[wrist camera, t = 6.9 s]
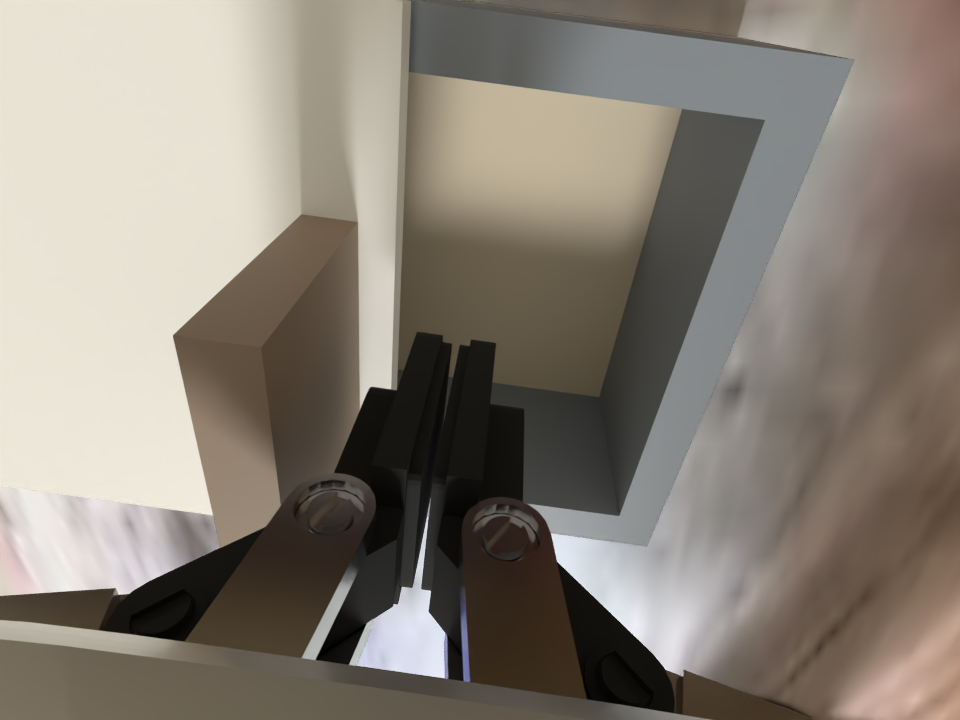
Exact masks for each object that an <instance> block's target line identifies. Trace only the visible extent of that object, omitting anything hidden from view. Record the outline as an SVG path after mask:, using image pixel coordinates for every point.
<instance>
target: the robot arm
mask: <svg viewBox="0 0 960 720" xmlns="http://www.w3.org/2000/svg"><path fill="white" fill-rule="evenodd" d="M451 350H452V343H446V342H443V335H438V334H431V333H424V332H417V333H416V336H415V339H414V342H413V345H412V348H411V350H410V353H409V356H408V359H407V362H406V365H405V368H404V371H403V374H402V377H401V380H400V383H399V386H398V389H397V390H392V389H385V388H378V387H370V388H369V390H368V392H367V394H366V396H365V399H364V401H363V404H362V406H361V408H360V411H359V413H358V416H357V418H356V421H355V423H354V425H353V428H352V430H351V433H350V435H349V437H348V440H347V442H346V445H345V447H344V449H343V452H342V454H341V457H340V459H339V461H338V464H337V466H336V469H335V471H334V473H331V474H322V475H318V476H315V477H312V478H309V479H307V480H306V481H304V482H302V483H301V484H299V485H297V486H296V487H295V489H294V490H293V491H292V492H291V493H290V494H289V495H288V496H287V498H286V499H285V500H284V502H283V503H282V505H281V506H280V508H279V509H278V510H277V512H276V513H275V515H274V516H273V517H272V519H271V520H270V522H269V523H268V524H267V526H266V527H264V528H262V529H260V530H258V531H255V532H253V533H251V534H249V535H247V536H245V537H243V538H241V539H238V540H236V541H234V542H232V543H230V544H228V545H226V546H224V547H221V548H219V549H217V550H215V551H213V552H211V553H209V554H206V555H204V556H202V557H200V558H198V559H196V560H194V561H192V562H189V563H187V564H185V565H183V566H181V567H179V568H177V569H174V570H172V571H170V572H168V573H166V574H164V575H162V576H160V577H157V578H155V579H153V580H151V581H149V582H147V583H146V584H144V585H142V586H141V587H139V588H137V589H136V590H134V591H132V592H131V593H130V594H125V595H118V593H117V591H116V588H111V589H97V590H82V591H67V592H53V593H38V594H23V595H9V596H0V720H814V719H812V718H810V717H808V716H806V715H803V714H800V713H798V712H796V711H793V710H791V709H788V708H786V707H783V706H779V705H776V704H774V703H771V702H768V701H766V700H763V699H760V698H758V697H755V696H752V695H750V694H747V693H744V692H742V691H739V690H736V689H734V688H731V687H728V686H726V685H723V684H720V683H718V682H715V681H712V680H710V679H707V678H704V677H702V676H699V675H696V674H694V673H691V672H688V671H686V670H683V671H682V673H681V675H677V674H675V673H672V672H669V671H667V670H665V669H664V667H663V666H662V665H661V663H660V662H659V661H658V660H657V659H656V657H655V656H654V655H653V654H652V653H651V652H650V651H649V650H648V649H647V648H646V647H645V646H644V645H643V644H642V643H641V642H640V641H639V640H638V639H637V638H636V637H635V636H634V635H632V634H631V633H630V632H629V631H628V630H627V629H626V628H625V627H624V626H623V625H622V624H621V623H620V622H619V621H618V620H617V619H616V618H615V617H614V616H613V615H612V614H611V613H610V612H609V611H608V610H607V609H605V608H604V607H603V606H602V605H601V604H600V603H599V602H598V601H597V600H596V599H595V598H594V597H593V596H592V595H591V594H590V593H589V592H588V591H587V590H586V589H585V588H584V587H583V586H582V585H581V584H579V583H578V582H577V581H576V580H575V579H574V578H573V577H572V576H571V575H570V574H569V573H568V572H567V571H566V570H565V569H564V568H563V567H562V566H561V565H560V564H559V563H558V562H557V560H556V555H555V551H554V546H553V541H552V537H551V532H550V530H549V527H548V525H547V522H546V520H545V519H544V518H543V517H542V516H541V514H540V513H539V512H538V511H537V510H535V509H534V508H533V507H531V506H530V505H528V504H527V503H524V502H523V476H524V409H523V408H517V407H510V406H503V405H496V404H490V400H491V390H492V380H493V371H494V361H495V351H496V343H493V342H486V341H479V340H472V339H471V342H470V346H466V345H460V346H459V351H458V356H457V361H456V366H455V371H454V375H453V380H452V385H451V390H450V395H449V400H448V405H447V410H446V414H445V404H446V395H447V386H448V377H449V368H450V359H451ZM444 414H445V419H444ZM443 423H444V424H443ZM430 499H431V501H430ZM429 503H430V510H429V520H428V529H427V539H426V549H425V558H424V568H423V577H422V587H421V589H423V590H430V591H431V597H430V605H429V613H430V614H431V615H432V616H433V618H434V619H435V620H436V621H437V623H438V624H439V625H440V627H441V628H442V629H443V630H444V632H445V640H444V661H445V679H444V678H437V677H430V676H423V675H416V674H409V673H402V672H395V671H388V670H381V669H375V668H368V667H360V666H357V663H358V661H359V658H360V656H361V654H362V651H363V649H364V646H365V644H366V642H367V639H368V637H369V634H370V632H371V628H372V624H373V619H374V618H376V617H377V616H379V615H380V614H382V613H383V612H385V611H386V610H388V609H390V608H391V607H393V604H398V601H399V597H400V592H401V588H402V587H409V588H412V587H413V583H414V578H415V573H416V568H417V563H418V558H419V553H420V548H421V543H422V538H423V533H424V528H425V523H426V518H427V513H428V508H429Z"/></svg>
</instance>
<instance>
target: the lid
mask: <svg viewBox="0 0 960 720" xmlns="http://www.w3.org/2000/svg"><path fill="white" fill-rule="evenodd" d="M410 20H411V1H409V0H0V486H4V487H11V488H19V489H26V490H33V491H40V492H48V493H55V494H62V495H69V496H77V497H84V498H91V499H99V500H106V501H113V502H120V503H128V504H135V505H142V506H149V507H157V508H164V509H171V510H178V511H186V512H193V513H200V514H207V515H213V517H214V522H215V526H216V531H217V535H218V540H219V544H220V548H221V547H224V546H226V545H228V544H230V543H232V542H234V541H236V540H238V539H241V538H243V537H245V536H247V535H249V534H251V533H253V532H255V531H258V530H260V529H262V528H264V527H266V526H267V524H268V523H269V522H270V520H271V519H272V517H273V516H274V515H275V513H276V512H277V510H278V509H279V508H280V506H281V505H282V503H283V502H284V500H285V499H286V498H287V496H288V495H289V494H290V493H291V492H292V491H293V490H294V489H295V487H296V486H297V485H299V484H301V483H302V482H304V481H306V480H307V479H309V478H312V477H315V476H318V475H322V474H331V473H334V471H335V469H336V466H337V464H338V461H339V459H340V457H341V454H342V452H343V449H344V447H345V445H346V442H347V440H348V437H349V435H350V433H351V430H352V428H353V425H354V423H355V421H356V418H357V416H358V413H359V411H360V408H361V406H362V404H363V401H364V399H365V396H366V394H367V392H368V390H369V388H370V387H378V388H385V389H392V390H397V374H398V347H399V320H400V293H401V265H402V238H403V211H404V183H405V156H406V129H407V102H408V74H409V47H410Z"/></svg>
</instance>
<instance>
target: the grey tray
mask: <svg viewBox="0 0 960 720" xmlns="http://www.w3.org/2000/svg"><path fill="white" fill-rule="evenodd" d="M409 1H411V20H410V47H409V74H408V102H407V129H406V156H405V183H404V211H403V238H402V265H401V293H400V320H399V347H398V374H397V389H398V386H399V383H400V380H401V377H402V374H403V371H404V368H405V365H406V362H407V359H408V356H409V353H410V350H411V348H412V345H413V342H414V339H415V336H416V333H417V332H424V333H431V334H438V335H443V342H446V343H452V350H451V359H450V368H449V377H448V386H447V395H446V404H445V414H446V410H447V405H448V400H449V395H450V390H451V385H452V380H453V375H454V371H455V366H456V361H457V356H458V351H459V346H460V345H466V346H470V342H471V339H472V340H479V341H486V342H493V343H496V351H495V361H494V371H493V380H492V390H491V400H490V404H496V405H503V406H510V407H517V408H523V409H524V476H523V502H524V503H527V504H528V505H530V506H531V507H533V508H534V509H535V510H537V511H538V512H539V513H540V514H541V516H542V517H543V518H544V519H545V520H546V522H547V525H548V527H549V530H550V532H551V533H553V534H561V535H568V536H575V537H582V538H590V539H597V540H604V541H611V542H619V543H626V544H633V545H641V546H647V545H648V543H649V540H650V538H651V536H652V533H653V531H654V529H655V526H656V524H657V522H658V519H659V517H660V514H661V512H662V510H663V507H664V505H665V503H666V500H667V498H668V496H669V493H670V491H671V489H672V486H673V484H674V482H675V479H676V477H677V475H678V472H679V470H680V468H681V465H682V463H683V461H684V458H685V456H686V454H687V451H688V449H689V447H690V444H691V442H692V440H693V437H694V435H695V433H696V430H697V428H698V426H699V423H700V421H701V418H702V416H703V414H704V411H705V409H706V407H707V404H708V402H709V400H710V397H711V395H712V393H713V390H714V388H715V386H716V383H717V381H718V379H719V376H720V374H721V372H722V369H723V367H724V365H725V362H726V360H727V358H728V355H729V353H730V351H731V348H732V346H733V344H734V341H735V339H736V337H737V334H738V332H739V329H740V327H741V325H742V322H743V320H744V318H745V315H746V313H747V311H748V308H749V306H750V304H751V301H752V299H753V297H754V294H755V292H756V290H757V287H758V285H759V283H760V280H761V278H762V276H763V273H764V271H765V269H766V266H767V264H768V262H769V259H770V257H771V255H772V252H773V250H774V248H775V245H776V243H777V241H778V238H779V236H780V233H781V231H782V229H783V226H784V224H785V222H786V219H787V217H788V215H789V212H790V210H791V208H792V205H793V203H794V201H795V198H796V196H797V194H798V191H799V189H800V187H801V184H802V182H803V180H804V177H805V175H806V173H807V170H808V168H809V166H810V163H811V161H812V159H813V156H814V154H815V152H816V149H817V147H818V145H819V142H820V140H821V137H822V135H823V133H824V130H825V128H826V126H827V123H828V121H829V119H830V116H831V114H832V112H833V109H834V107H835V105H836V102H837V100H838V98H839V95H840V93H841V91H842V88H843V86H844V84H845V81H846V79H847V77H848V74H849V72H850V70H851V67H852V65H853V63H854V60H853V59H848V58H842V57H837V56H832V55H827V54H822V53H816V52H811V51H806V50H801V49H796V48H790V47H785V46H780V45H775V44H769V43H764V42H759V41H754V40H749V39H743V38H738V37H731V36H723V35H716V34H709V33H701V32H694V31H686V30H679V29H671V28H664V27H656V26H649V25H641V24H634V23H627V22H619V21H612V20H604V19H597V18H589V17H582V16H574V15H567V14H560V13H552V12H545V11H537V10H530V9H522V8H515V7H507V6H500V5H492V4H485V3H478V2H470V1H463V0H409ZM445 414H444V419H445ZM443 424H444V423H443ZM430 501H431V499H430ZM429 510H430V503H429V508H428V513H427V516H429Z"/></svg>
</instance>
